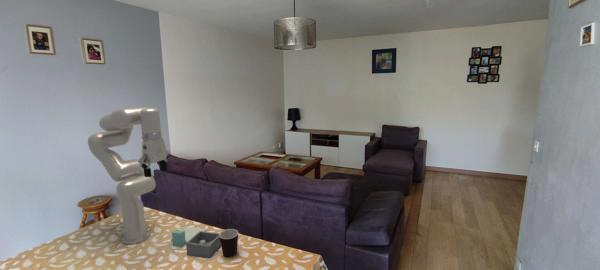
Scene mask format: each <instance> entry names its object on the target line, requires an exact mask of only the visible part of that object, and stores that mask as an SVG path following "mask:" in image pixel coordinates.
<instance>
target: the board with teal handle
mask: <svg viewBox="0 0 600 270" xmlns="http://www.w3.org/2000/svg"><path fill="white" fill-rule="evenodd" d="M199 231H204V232H208V231H207V228H200V227H199V228H198V227H192V226H186V227H185V228H184V229H174V230H173V231H172V232H171V239H170V242H172V246H174V247H179V248H182V247H184V246H186V243H187V242H188V241H189V240H190V239H191V238H192V237H194V236H195V235H196V234H197V233H198V232H199Z"/></svg>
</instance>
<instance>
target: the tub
mask: <svg viewBox="0 0 600 270" xmlns="http://www.w3.org/2000/svg"><path fill="white" fill-rule="evenodd" d="M219 234H220V233H218V232H212V231H211V232H210V231H206V232H204V231H199V232H198V233H197V234H196V235H195V236H194V237H192V238H191V239H190V240H189V241H188V242H187V243H186V244H185V246H186V247H185V248H186V255H187V256H191V257H193V256H194V257H198V258H205V259H211V258H212V257H213V256H214V255H215V254H216V252H218V250H219V249H220V248H222V247H221V242H220V237H219Z"/></svg>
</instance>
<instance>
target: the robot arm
mask: <svg viewBox="0 0 600 270" xmlns="http://www.w3.org/2000/svg"><path fill="white" fill-rule="evenodd" d="M160 115H161V114H160V111H159V109H158V108H155V107H152V108H149V107H146V106H143V107H129V108H121V109H117V110H114V111H112V113H110V114H106V115H104V116H102V117H101V118H100V120H99V122H98V123H99V127H100V128H101V129H102V130H104V131H100V132H97V133H96V132H95V133H94V134H91V135H90V136H89V137H88V138H87V145H88V149H89V151H90V152H91V154H92V155H93V156H94V157H95V158H96V159H97V160H98V161H99V162H100V163H101V164H102V166H103V167H104V169H105V170H106V172H107V173H108V175H109V176H110V178H111V179H112V181H114V182H119V183H118V184H117V185H116V188H115V189H116V190H115V191H116V193H117V197H118V200H119V202H120V207H121V214H122V221H123V222H122V223H123V228H121V230H120V231H119V233H120V234H121V235H123V236H122V238H121V243H123V244H125V245H134V244H138V243H141V242H143V241H145V240H148V239H149V237H150V236H151V231H150V230H148V229H147V224H146V216H145V209H144V203H143V201H142V200H141V199H139V198H138V197H140V196H141V195H145V194H148V193H150V192H153V190H155V188H156V185H157V184H156V180H155V178H154V176H153V175H152V169H151V168H150V167H151V166H152V164H155V163H156V164H157V163H158V162H159V168H160V169H159V170H160V171H168V164H167V162H168V158H169V153H170V152H169V150H167V149H166V148H167V147H166V144H165V141H164V138H163V136H162V128H161V126H162V125H161V117H160ZM138 125H140V126H141V133H142V134H141V139H142V142H141V157H140V158H138V159H136V158H134V159H129V160H124V159H123V158H122V156H121V155H120V154H119V153H118V152H117V151H116V150H112V149H109V148H114V147H120V146H123V145H124V146H125V145H127V143H128V142H129V141H130V138H131V134H132V133H133V129H134V126H138Z"/></svg>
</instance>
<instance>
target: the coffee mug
mask: <svg viewBox="0 0 600 270" xmlns="http://www.w3.org/2000/svg"><path fill="white" fill-rule="evenodd" d="M219 237H220V242H221V247H220V248H221V250H222V251H221V252H222V255H223V257H224V258H227V259H228V258H234V257H236V256H237V254H238V245H239V244H238V242H239V231H238V230H237V229H234V228H227V229H224V230H223V231H221V232H220V233H219Z"/></svg>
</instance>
